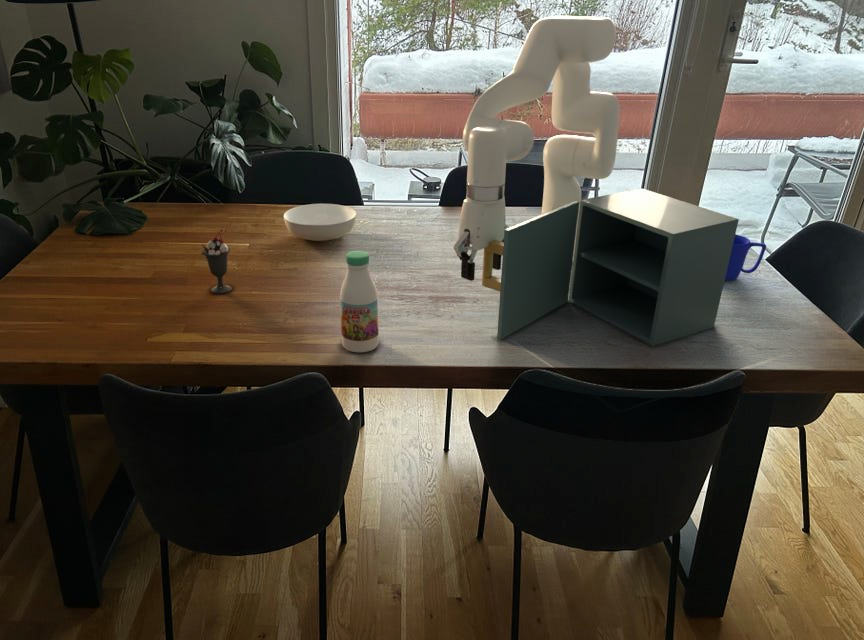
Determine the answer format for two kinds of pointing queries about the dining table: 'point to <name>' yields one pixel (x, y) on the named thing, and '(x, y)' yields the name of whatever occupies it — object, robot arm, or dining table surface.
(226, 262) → the sundae
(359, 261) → the milk bottle
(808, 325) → the dining table surface
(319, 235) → the serving bowl
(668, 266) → the cabinet
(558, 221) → the cabinet door
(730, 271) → the mug
